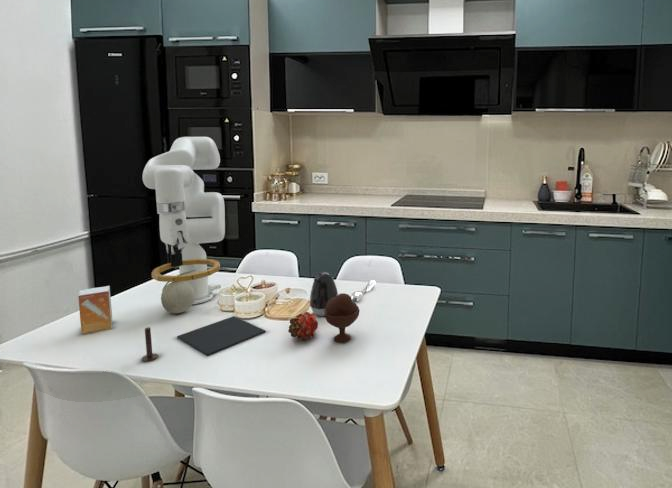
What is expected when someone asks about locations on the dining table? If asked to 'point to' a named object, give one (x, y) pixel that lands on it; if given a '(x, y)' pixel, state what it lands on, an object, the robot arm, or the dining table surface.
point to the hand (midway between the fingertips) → (175, 265)
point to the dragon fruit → (303, 326)
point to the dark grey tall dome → (322, 292)
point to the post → (149, 347)
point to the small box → (95, 309)
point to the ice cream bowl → (341, 315)
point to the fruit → (177, 296)
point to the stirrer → (357, 295)
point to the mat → (220, 335)
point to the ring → (190, 276)
